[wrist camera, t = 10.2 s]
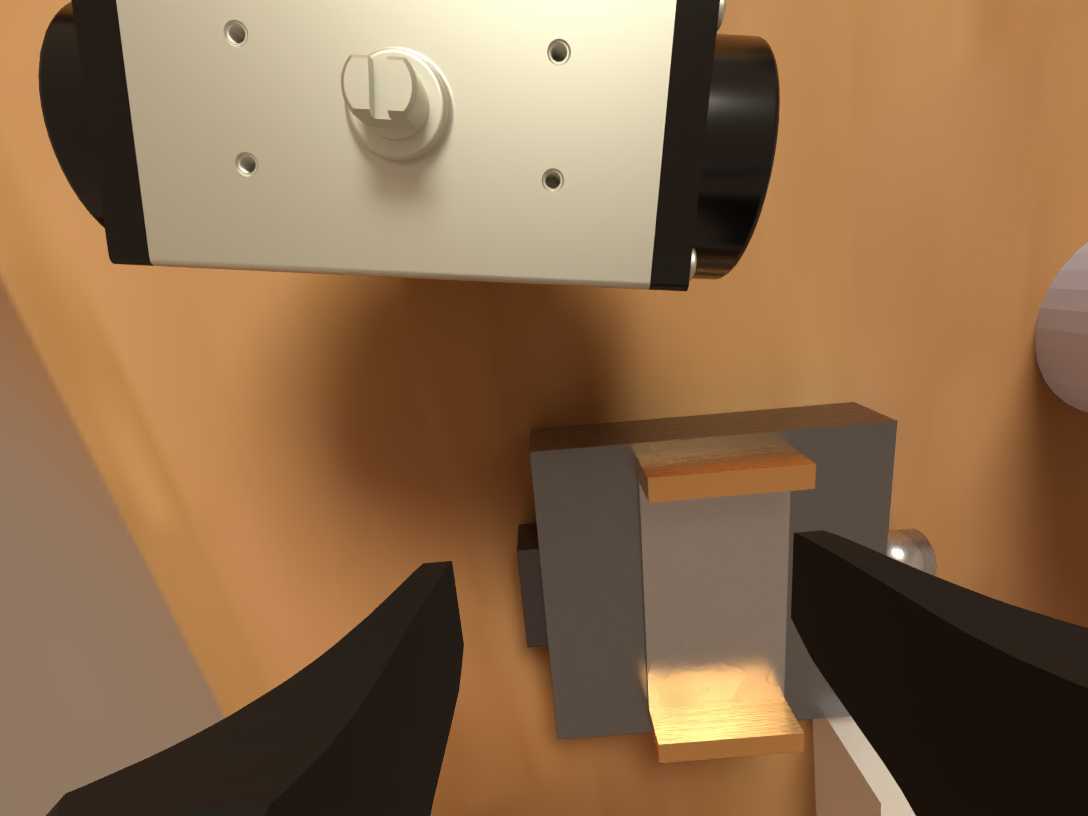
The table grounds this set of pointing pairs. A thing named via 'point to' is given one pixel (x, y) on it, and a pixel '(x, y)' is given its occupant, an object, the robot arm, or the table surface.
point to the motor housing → (697, 569)
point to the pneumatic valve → (416, 136)
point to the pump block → (852, 773)
